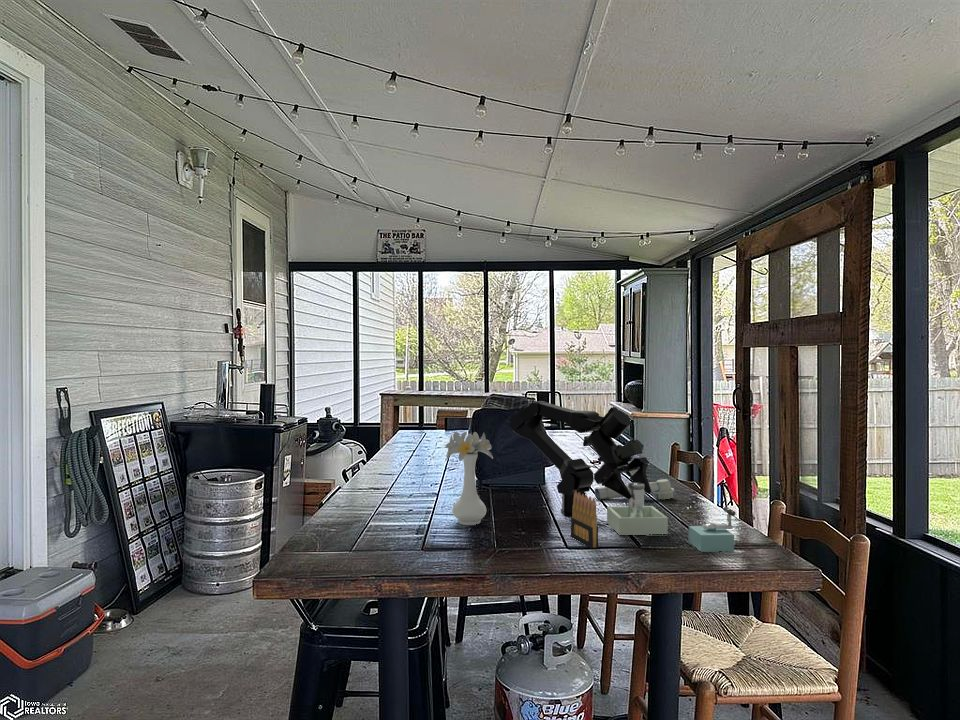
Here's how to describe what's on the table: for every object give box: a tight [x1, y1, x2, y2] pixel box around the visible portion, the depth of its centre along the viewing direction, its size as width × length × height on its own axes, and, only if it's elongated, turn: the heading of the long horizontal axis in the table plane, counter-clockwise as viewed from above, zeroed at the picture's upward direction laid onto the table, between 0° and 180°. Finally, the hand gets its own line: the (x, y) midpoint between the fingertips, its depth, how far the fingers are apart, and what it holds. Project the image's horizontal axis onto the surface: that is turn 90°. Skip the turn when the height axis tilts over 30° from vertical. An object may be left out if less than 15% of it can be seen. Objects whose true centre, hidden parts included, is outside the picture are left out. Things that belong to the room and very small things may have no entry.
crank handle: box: [701, 506, 736, 531], centre depth 165 cm, size 7×5×5 cm
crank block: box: [688, 525, 735, 553], centre depth 165 cm, size 8×8×4 cm
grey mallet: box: [594, 478, 675, 501], centre depth 215 cm, size 5×7×25 cm
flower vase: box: [444, 431, 494, 526], centre depth 186 cm, size 13×18×25 cm
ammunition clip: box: [570, 491, 599, 550], centre depth 168 cm, size 11×2×12 cm, turn 21°
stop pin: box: [627, 481, 645, 517], centre depth 180 cm, size 4×4×11 cm
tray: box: [606, 505, 669, 536], centre depth 180 cm, size 13×13×4 cm
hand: (640, 495), depth 179 cm, fingers open, 9 cm apart
